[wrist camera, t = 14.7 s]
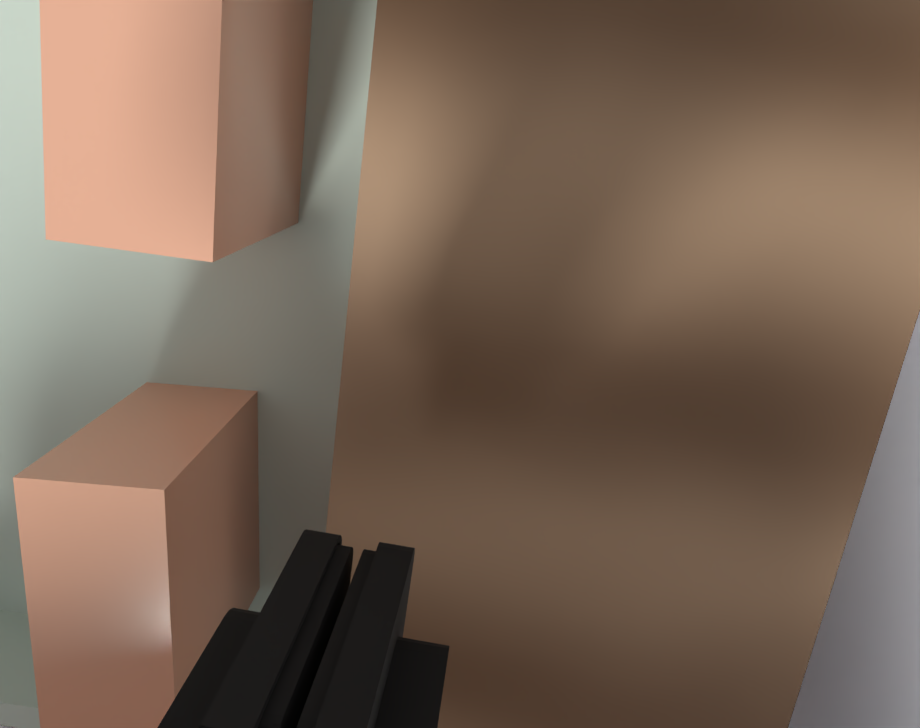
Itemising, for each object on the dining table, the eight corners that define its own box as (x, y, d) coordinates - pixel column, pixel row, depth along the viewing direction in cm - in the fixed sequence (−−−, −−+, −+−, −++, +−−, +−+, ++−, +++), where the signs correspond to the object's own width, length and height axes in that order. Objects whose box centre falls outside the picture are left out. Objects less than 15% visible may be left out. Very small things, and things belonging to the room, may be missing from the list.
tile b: (257, 391, 18) (146, 382, 18) (164, 489, 13) (13, 477, 13) (259, 587, 19) (157, 578, 19) (176, 742, 14) (40, 729, 14)
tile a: (316, -42, 15) (185, -59, 15) (226, -122, 10) (35, -146, 10) (298, 222, 16) (179, 206, 16) (212, 262, 12) (45, 239, 12)
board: (420, -167, 15) (400, -238, 12) (954, -93, 15) (1063, -147, 12) (334, 644, 20) (306, 731, 17) (726, 704, 20) (764, 802, 17)
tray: (-210, -291, 15) (-420, -414, 11) (424, -204, 15) (400, -302, 11) (-127, 594, 20) (-251, 686, 17) (332, 664, 20) (298, 771, 17)
